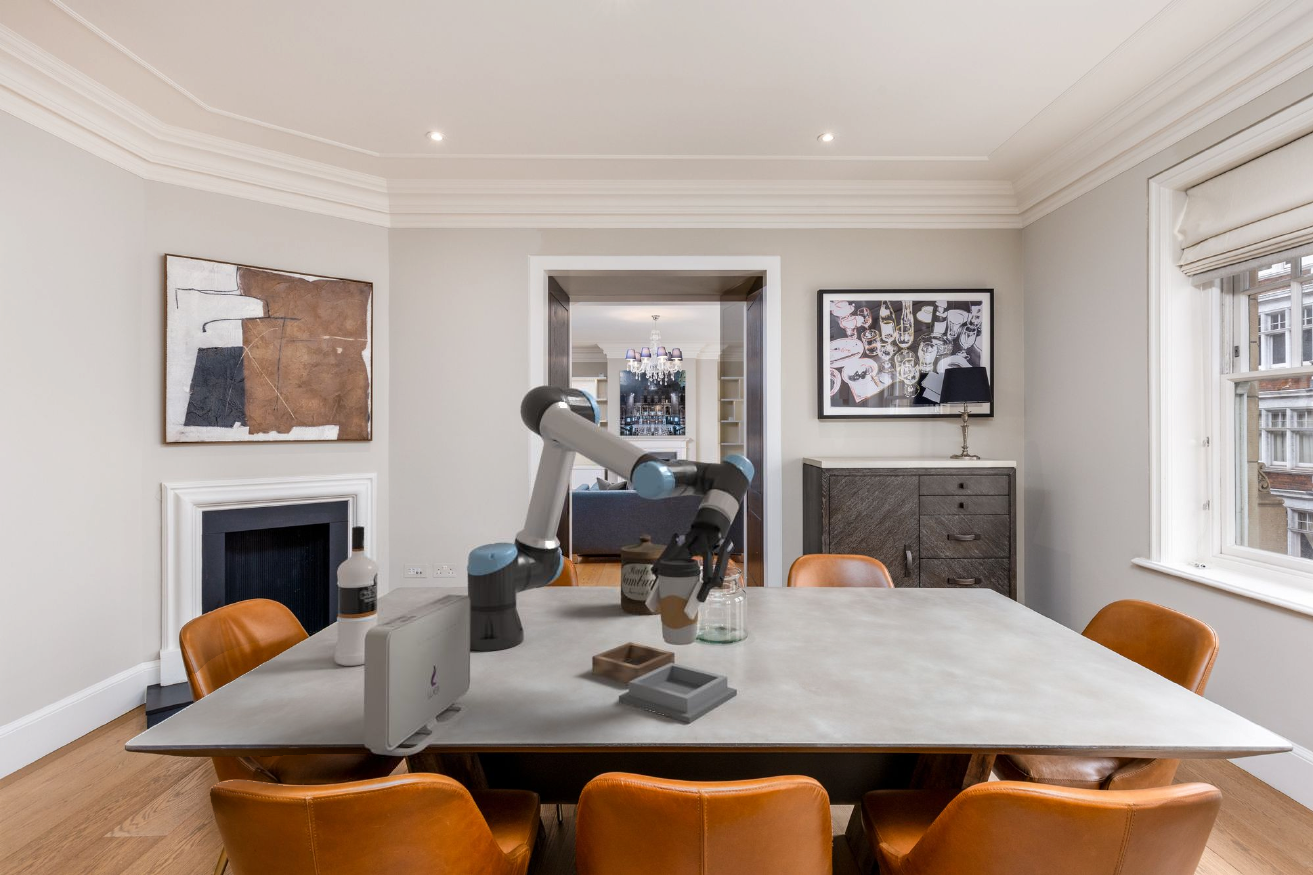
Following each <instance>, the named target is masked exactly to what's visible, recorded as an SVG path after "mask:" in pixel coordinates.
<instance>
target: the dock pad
mask: <svg viewBox="0 0 1313 875" xmlns="http://www.w3.org/2000/svg"><path fill="white" fill-rule="evenodd" d="M737 694H738V691H737V689H736V688H732V687H728V676H725V675H722V674H718V673H714V672H710V671H706V670H702V669H697V668H694V667H689V666H685V665H682V664H678V663H675V664H674V663H669V664H667V665H665V666H663V667H660V668H658V669H656V670H654V671H652V672H649V673H647V674H645V675H643V676H641V677H638V678H636V679H634V680H632V681H629V684H628V691H626V692H624V693H622V694H620V695H618V702H620V701H621V703H623V702H625V703H624V704H626V703H627V705H630V704H631V705H630V706H633V705H634V706H633V707H636V706H638V707H637V708H639V707H641V708H640V709H642V708H644V709H643V710H645V709H647V711H649V710H651V711H650V712H652V711H655V712H657V713H656V714H658V713H660V714H659V715H661V714H664V715H667V716H670V717H669V718H671V717H673V718H672V719H674V718H675V720H677V719H679V720H678V721H680V720H681V721H680V722H683V721H685V722H684V723H687V724H691V723H692V721H693V722H694V721H696V720H698V719H700V718H701V717H702V715H703V716H704V715H705V714H708V713H709V712H711V711H713V710H715V709H716V708H718V707H719V706H721V705H722V704H724V703H726V702H727V701H729V700H731V699H732V698H734V697H736V696H737ZM655 712H654V713H655ZM664 715H663V716H664ZM667 716H666V717H667ZM695 719H696V720H695Z"/></svg>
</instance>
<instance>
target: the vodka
mask: <svg viewBox="0 0 1313 875" xmlns="http://www.w3.org/2000/svg"><path fill="white" fill-rule="evenodd" d="M378 571H379V566H378V563H377V562H376V561H375V560H373V559H371V558H370V557H368V556H367V555H365V526H361V525H356V526H353V527H352V528H351V556H350V557H348V558H347V559H345V560H344V561H343V562H342V563H340V565H339V566H338V568H337V571H336V576H337V582H336V583H337V585H338V586H337V587H338V590H337V591H338V594H337V595H338V598H337V599H338V601H337V602H338V604H337V605H338V606H337V609H338V610H337V612H338V614H337V617H336V621H337V639H336V640H337V641H336V648H335V650H334V658H333V659H334V661H335V663H336V664H337V665H339V666H342V667H356V666H363V665H364V652H365V636H366V633H367V632H368V630H369V629H370V628H372V627H374V626H376V625H378V616H379V613H378Z"/></svg>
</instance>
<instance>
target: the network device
mask: <svg viewBox="0 0 1313 875" xmlns="http://www.w3.org/2000/svg"><path fill="white" fill-rule="evenodd" d="M363 672H364V673H363V674H364V675H363V676H364V677H363V678H364V682H363V686H364V687H363V688H364V689H363V690H364V691H363V703H364V704H363V706H364V707H363V745H364V747H365V748H366V749H370V751H371V752H372V753H373V754H376V755H386V756H392V757H393V756H394V757H405V756H411V755H414V754H417V753H420V752H421V751H422V750H424V749H425V748H426V747H428V746H429V745H430V744H431V743H433V742H434V741H435V740H436V739H437V738H439V737H440V736H441V735H442V734H443V733H445V732H446V731H447V730H448V729H449V728H451V727H452V726H453V725H454V724H455V723H456V722H458V721H459V720H460V719H461V718H463V717H464V716H465V715H466V714H467V706H466V705H464V704H461V703H457V701H458V700H460V699H461V698H462V697H464V696H465V695H466V694H467V693H468V692H469V690H470V684H471V650H470V598H469V596H468V594H467V595H465V594H462V595H461V594H447V595H444V596H441V597H439V598H437V599H435V600H433V601H429V602H428V603H426V604H423V605H421V606H419V607H415V608H413V609H412V610H409V611H407V612H404V613H402V614H401V615H398V616H395V617H393V618H391V619H389V620H386V621H383V622H382V623H379V624H377V625H376V626H374V627H372V628H370V629H369V630H368V632H367V633H366V636H365V652H364V671H363ZM455 702H456V703H455ZM445 710H452V711H458V712H456V713H455V714H454V715H453V716H451V718H449V719H447V720H446V721H440V722H439V721H438V720H437V716H439V715H440V714H441V713H443V712H444V711H445ZM415 733H419V734H429V735H428V736H427V737H425V738H424V739H423V740H422V741H420V742H419V743H418V744H416V745H415V746H412V747H409V748H404V747H403V748H402V747H398V746H399V745H401V744H402V743H404V741H406V740H407V739H409V738H410V737H412V735H414V734H415Z"/></svg>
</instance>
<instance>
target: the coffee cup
mask: <svg viewBox="0 0 1313 875" xmlns="http://www.w3.org/2000/svg"><path fill="white" fill-rule="evenodd" d="M657 574H658V577H659V591H660V597H659V598H660V612H661V613H660V621H661V630H662V631H661V633H662V639H663V640H664V642H665V643H666V644H669V645H672V646H686V645H691V644H693V643H695V642H696V639H697V631H698V620H699V610H698V611H697V613H696V615H695V617H694V620H693V619H690V618H689V617H688V616H687V614H686V613H685V611H684V610H685V607H686V605H687V603H688V601H689V599H690V597H691V595H692V593H693V590H694V588H695V586H696V584H697V582H698V581H701V580H700V578H701V577H700V576H701V574H702V572H701V566H700V565H699V561H698V560H697V559H695V558H692V559H690V558H669V559H663V560H661V561H660V566H658V572H657Z"/></svg>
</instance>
